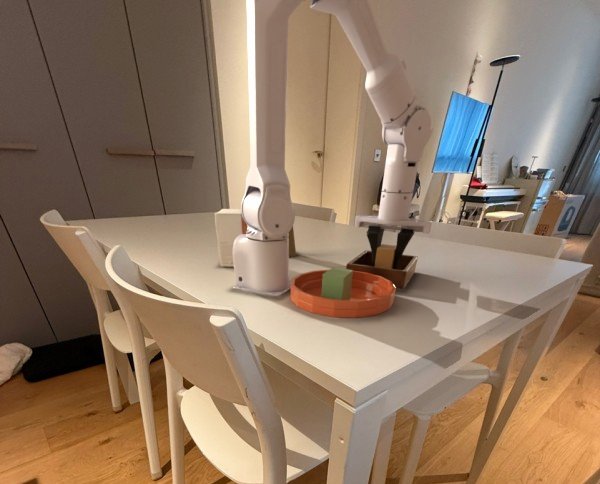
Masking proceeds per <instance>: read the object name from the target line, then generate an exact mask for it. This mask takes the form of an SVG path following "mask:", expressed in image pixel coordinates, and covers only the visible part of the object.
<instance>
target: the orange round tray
mask: <svg viewBox="0 0 600 484" xmlns="http://www.w3.org/2000/svg"><path fill="white" fill-rule="evenodd" d="M330 269H331V268H329V269H319V270H312V271H306V272H304V273H303V272H302V273H300V274H298V275H296V276H294V277H293V278H291V281H290V282H291V289H290V301H291V302H292V303H293V304H294V305H295V306H296V307H297V308H299V309H301V310H304V311H307V312H309V313H312V314H316V315H320V316H321V315H322V316H327V317H332V318H355V319H357V318H365V317H371V316H377V315H379V314H382V313H384V312H386V311H389V310H390V309H391V307H392V305H393V304H394V301H395V295H396V291H397V288H395V286H394V284H393V283H392V282H391V281H389V280H387V279H385V278H383V277H381V276H378V275H374V274H370V273H367V272H360V271H353V276H352V285H351V294H350V300H335V299H329V298H323V297H322V279H323V274H324V273H325V272H327V271H328V270H330Z"/></svg>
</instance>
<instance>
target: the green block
mask: <svg viewBox="0 0 600 484" xmlns="http://www.w3.org/2000/svg"><path fill="white" fill-rule="evenodd" d="M329 269H330V270H329ZM329 269H327V270H328V271H327V272H325V273H324V274H323V279H322V297H323V298H329V299H335V300H350V294H351V285H352V276H353V270H348V269H346V268H340V267H331V268H329Z"/></svg>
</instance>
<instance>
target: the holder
mask: <svg viewBox="0 0 600 484" xmlns="http://www.w3.org/2000/svg"><path fill="white" fill-rule="evenodd" d="M418 258H419V256H418V255H409V254H402V256H401V259H400V261H399V264H398V267H397V269H389V268H382V267H374V266H373V259H372V252H371V250H366V249H365V250H363V251H362V252H361V253H360V254H359V255H357V256H355V257H354V258H353V259H351V260H350V261H349V262H347V263H346V268H345V269H348V270H353V271H360V272H367V273H370V274H374V275H378V276H381V277H383V278H385V279H387V280H389V281H391V282H392V283H393V284H394V286H395V288H396V289H398V290H399V289H400V290H404V289H405V287H406V286H407V285H408V283H409V281H410V280H411V278H412V277H413V275H414V274H415V272H416V267H417V263H418Z"/></svg>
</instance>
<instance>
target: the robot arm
mask: <svg viewBox="0 0 600 484" xmlns="http://www.w3.org/2000/svg"><path fill="white" fill-rule="evenodd" d="M305 1H306V0H246V19H247V20H246V21H247V23H246V25H247V61H248V62H247V65H248V66H247V67H248V73H247V74H248V105H249V106H248V109H249V112H248V113H249V153H250V154H249V156H250V159H249V160H250V166H249V170H248V172H247V175H246V177H245V191H244V195H243V197H242V200H241V203H240V209H241V213H242V217H243V219H244V221H245V222H246V224H247V232H246V234H242V235H239V236H238V237H237V238H236V239H235V242H234V245H233V263H234V267H233V275H234V283H235V286H233V289H234V290H235V289H236V290H240V291H246V292H252V293H258V294H262V295H263V294H264V295H268V296H274V297H280V296H282V295H283V294H285V293H286V292H288V291H289V290H291V281H290V257H289V233H288V232H289V231H290V230H291V229H292V227H293V228H294V224H295V219H296V211H295V210H296V209H295V206H294V204H293V201H292V198H291V197H292V196H291V183H290V180H289V177H288V175H287V172H286V171H287V170H286V137H287V135H286V134H287V133H286V130H287V99H288V97H287V96H288V95H287V94H288V93H287V91H288V59H289V57H288V53H289V51H288V50H289V20H290V17H291V15H292V14H293V13H294V12H295V11H296V10H297V9H298V7H299V6H300V5H301V4H302V3H303V2H305ZM309 7H310V9H311V10H314V11H317V12H322V13H325V14H326V13H327V14H331V15H334V16H335V17H336V19H337V21H338V23H339V24H340V26H341V29H342V30H343V32H344V33H345V35H346V37H347V38H348V40H349V43H350V44H351V46H352V48H353V49H354V51H355V53H356V55H357V56H358V58H359V60H360V62H361V64H362V65H363V67H364V69H365V71H366V76H365V84H364V87H365V89H364V90H365V91H366V93H367V94H368V97H369V99H370V101H371V103H372V105H373V107H374V109H375V112H376V113H377V115H378V117H379V119H380V123H381V125H382V126H381V127H382V129H381V137H382V142H383V144H385V146H386V147H387V150H386V157H385V165H384V171H383V172H384V173H383V179H382V188H381V193H380V194H381V195H380V202H379V208H378V215H360V214H359V215H356V216H355V219H354V228H368V229H367V231H366V237H367V240H368V243H369V246H370V251H371V252H372V259H373V266H374V267H375V260H376V253H377V248H378V247H379V246H381V245H382V242H383V236H384V233H385V230H389V231H399V232H398V233H397V236H396V253H395V258H394V262H393V268H392V269H397V267H398V264H399V261H400V259H401V256H402V255H404V252H405V250H406V248H407V246H408V244H409V243H410V241H411V240H412V238H413V237H414V235H415V233H423V234H430V232H431V228H432V225H433V221H432V220H426V219H417V218H410V211H411V206H412V201H413V194H414V189H415V184H416V179H417V174H418V169H419V162H420V161H421V159H422V158H423V153H424V149H425V147H426V145H428V143H429V141H430V139H431V137H432V134H433V131H434V128H433V127H432V119H431V115H430V113H429V112H428V109H427V108H426V107H423V105H422V106H421V105H419V101H418V100H419V99H418V95H417V93H415V92H414V89H413V87H412V83H411V82H410V80H409V77H408V73H407V72H406V69H407V64H406V62H405V60H404V58H403V59H401V56H400V55H399V54H396V53H393V52H392V53H391V52H388V49H387V46H386V44H385V41H384V38H383V35H382V32H381V30H380V26H379V23H378V21H377V17H376V15H375V12H374V9H373V7H372V4H371V0H312V1H311V4H310V6H309Z"/></svg>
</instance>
